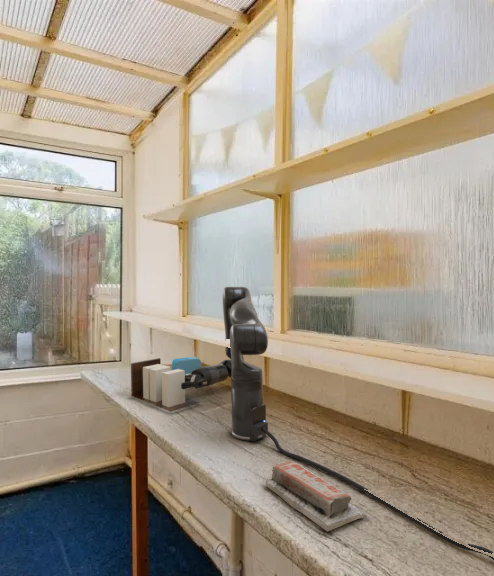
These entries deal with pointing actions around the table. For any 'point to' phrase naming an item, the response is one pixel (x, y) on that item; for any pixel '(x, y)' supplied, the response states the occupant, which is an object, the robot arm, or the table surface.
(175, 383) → the upright ivory block
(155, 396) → the cream rectangular block
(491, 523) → the table surface
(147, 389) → the white book
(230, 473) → the table surface
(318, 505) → the packaged product
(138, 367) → the dark wood bookend
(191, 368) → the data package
